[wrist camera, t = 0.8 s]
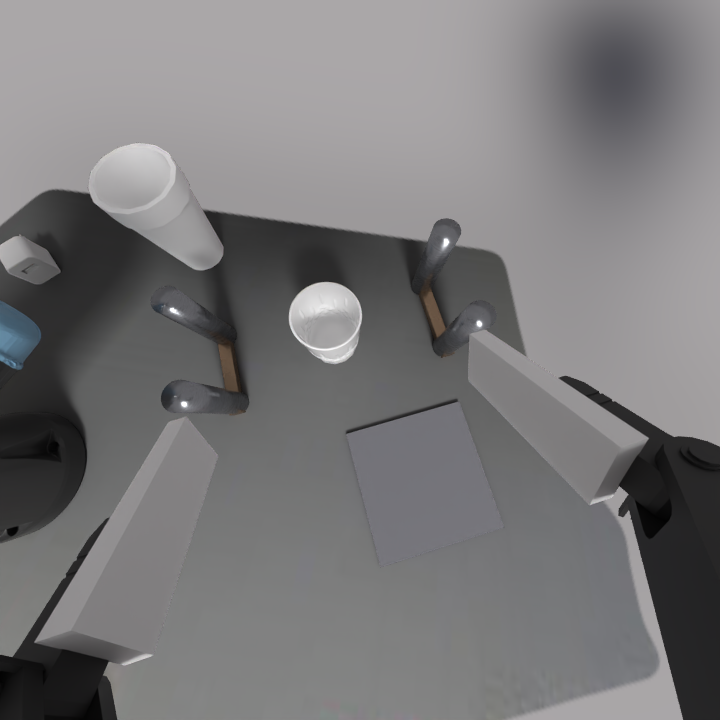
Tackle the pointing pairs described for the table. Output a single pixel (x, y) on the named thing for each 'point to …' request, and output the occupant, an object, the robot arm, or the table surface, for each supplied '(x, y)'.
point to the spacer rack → (198, 319)
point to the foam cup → (155, 203)
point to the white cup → (327, 321)
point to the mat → (422, 483)
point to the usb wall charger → (27, 260)
